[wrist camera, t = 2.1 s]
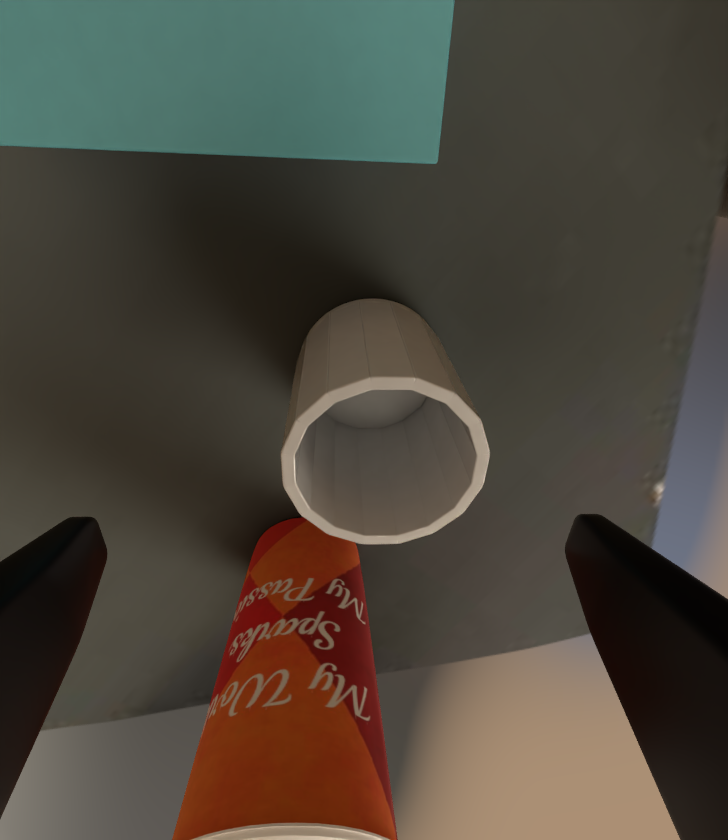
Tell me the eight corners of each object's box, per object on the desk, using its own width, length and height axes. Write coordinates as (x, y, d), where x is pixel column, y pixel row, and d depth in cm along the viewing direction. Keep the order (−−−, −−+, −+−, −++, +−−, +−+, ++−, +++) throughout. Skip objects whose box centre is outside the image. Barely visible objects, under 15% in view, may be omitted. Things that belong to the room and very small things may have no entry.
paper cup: (367, 490, 23) (403, 878, 11) (386, 592, 27) (427, 958, 15) (211, 513, 23) (77, 917, 11) (252, 610, 27) (187, 986, 15)
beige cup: (450, 299, 18) (507, 377, 12) (432, 429, 21) (471, 543, 15) (295, 296, 18) (275, 375, 12) (300, 429, 21) (286, 545, 15)
